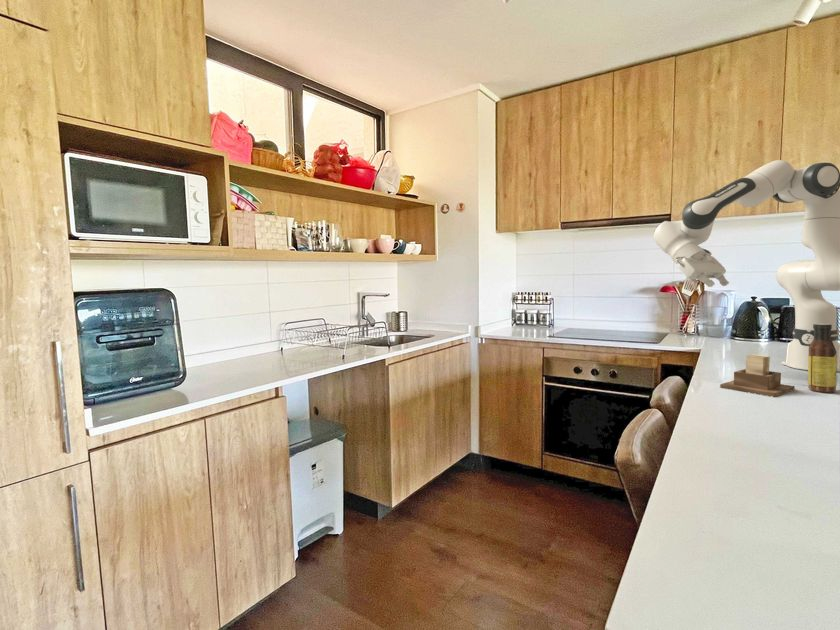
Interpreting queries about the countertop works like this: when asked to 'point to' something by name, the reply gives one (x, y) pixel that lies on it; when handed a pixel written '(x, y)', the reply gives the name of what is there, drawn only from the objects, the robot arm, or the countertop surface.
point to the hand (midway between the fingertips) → (719, 285)
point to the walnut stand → (758, 383)
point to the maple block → (757, 364)
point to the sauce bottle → (822, 360)
